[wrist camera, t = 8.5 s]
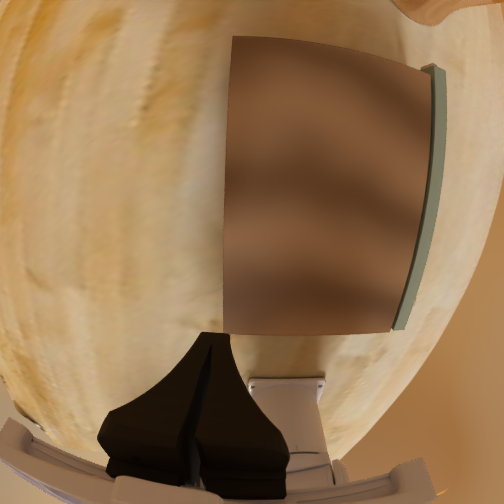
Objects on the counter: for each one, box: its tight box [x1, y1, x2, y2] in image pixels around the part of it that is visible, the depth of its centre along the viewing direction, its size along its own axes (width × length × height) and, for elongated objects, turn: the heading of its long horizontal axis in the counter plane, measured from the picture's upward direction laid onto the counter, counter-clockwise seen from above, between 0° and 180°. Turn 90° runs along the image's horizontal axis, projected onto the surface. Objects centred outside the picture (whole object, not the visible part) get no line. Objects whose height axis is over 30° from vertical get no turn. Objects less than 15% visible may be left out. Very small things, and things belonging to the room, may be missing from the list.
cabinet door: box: [391, 63, 447, 331], centre depth 16 cm, size 19×2×5 cm, turn 177°
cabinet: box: [223, 36, 431, 336], centre depth 17 cm, size 18×12×5 cm, turn 177°
